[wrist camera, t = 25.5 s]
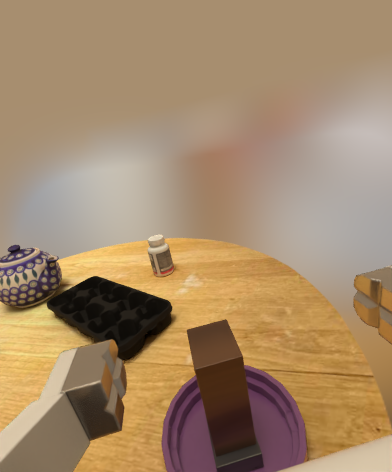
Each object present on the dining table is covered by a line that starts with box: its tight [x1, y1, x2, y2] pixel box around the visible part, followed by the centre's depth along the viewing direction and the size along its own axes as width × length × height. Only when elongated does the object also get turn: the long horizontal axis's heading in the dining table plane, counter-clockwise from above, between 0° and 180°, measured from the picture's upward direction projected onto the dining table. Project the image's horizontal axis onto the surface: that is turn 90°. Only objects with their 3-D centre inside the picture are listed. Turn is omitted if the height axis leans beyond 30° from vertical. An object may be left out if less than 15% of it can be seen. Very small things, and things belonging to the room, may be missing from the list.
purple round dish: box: [162, 365, 308, 472], centre depth 26 cm, size 14×14×3 cm
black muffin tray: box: [47, 276, 172, 360], centre depth 52 cm, size 18×30×4 cm, turn 64°
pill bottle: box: [148, 235, 174, 277], centre depth 65 cm, size 5×5×10 cm
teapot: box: [0, 245, 62, 308], centre depth 65 cm, size 25×15×15 cm, turn 69°
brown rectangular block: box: [187, 320, 264, 472], centre depth 25 cm, size 6×4×13 cm
